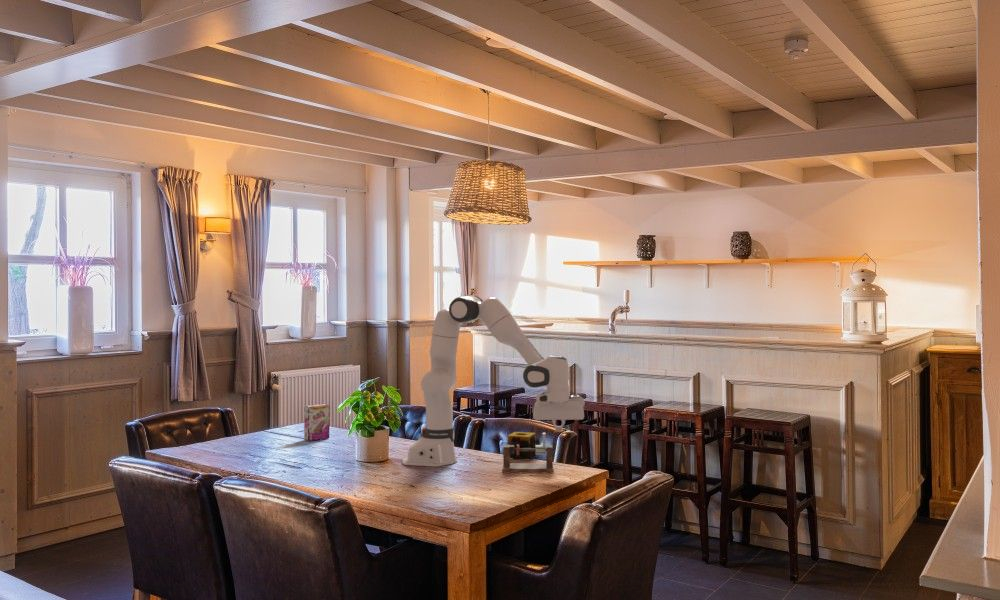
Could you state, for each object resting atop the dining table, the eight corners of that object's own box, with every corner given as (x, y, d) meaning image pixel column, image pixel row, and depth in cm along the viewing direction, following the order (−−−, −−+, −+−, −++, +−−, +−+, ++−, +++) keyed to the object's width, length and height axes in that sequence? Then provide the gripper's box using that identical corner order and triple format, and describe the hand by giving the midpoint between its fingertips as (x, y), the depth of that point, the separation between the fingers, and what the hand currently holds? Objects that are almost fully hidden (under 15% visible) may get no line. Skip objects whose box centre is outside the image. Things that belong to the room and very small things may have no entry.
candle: (530, 460, 334) (529, 436, 334) (507, 459, 337) (506, 435, 337) (536, 455, 344) (536, 432, 343) (514, 454, 347) (514, 431, 347)
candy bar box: (308, 441, 376) (308, 407, 376) (303, 440, 380) (303, 405, 380) (330, 438, 383) (329, 404, 383) (325, 437, 387) (325, 403, 387)
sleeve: (535, 454, 315) (535, 434, 315) (535, 452, 318) (535, 432, 318) (545, 454, 315) (545, 434, 315) (545, 453, 318) (545, 432, 318)
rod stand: (502, 472, 313) (502, 447, 313) (503, 466, 323) (503, 442, 322) (553, 472, 312) (553, 447, 311) (553, 467, 322) (553, 442, 321)
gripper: (584, 394, 318) (584, 429, 319) (532, 395, 320) (533, 429, 320) (585, 396, 312) (585, 432, 312) (532, 397, 313) (533, 432, 314)
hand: (558, 430), depth 316 cm, fingers closed
